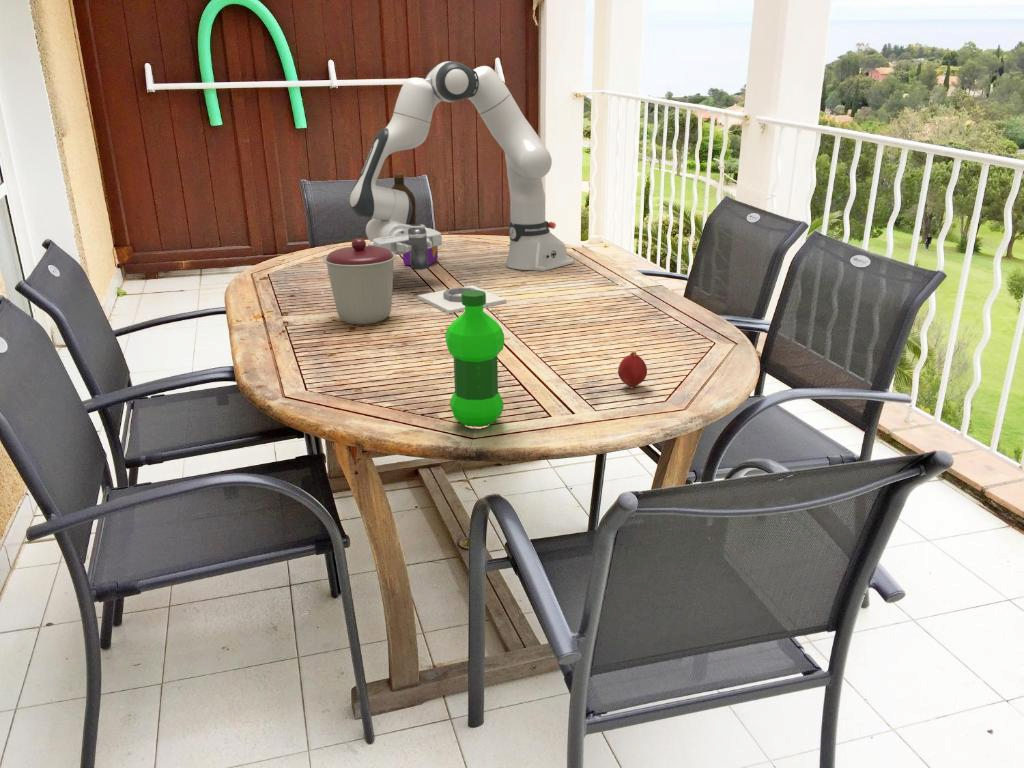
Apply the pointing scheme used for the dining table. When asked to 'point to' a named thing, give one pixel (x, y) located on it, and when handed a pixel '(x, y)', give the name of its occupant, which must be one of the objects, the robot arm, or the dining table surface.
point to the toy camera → (431, 256)
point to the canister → (361, 282)
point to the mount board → (457, 305)
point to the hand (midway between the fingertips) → (419, 247)
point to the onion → (632, 370)
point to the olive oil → (401, 187)
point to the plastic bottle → (475, 362)
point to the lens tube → (418, 248)
